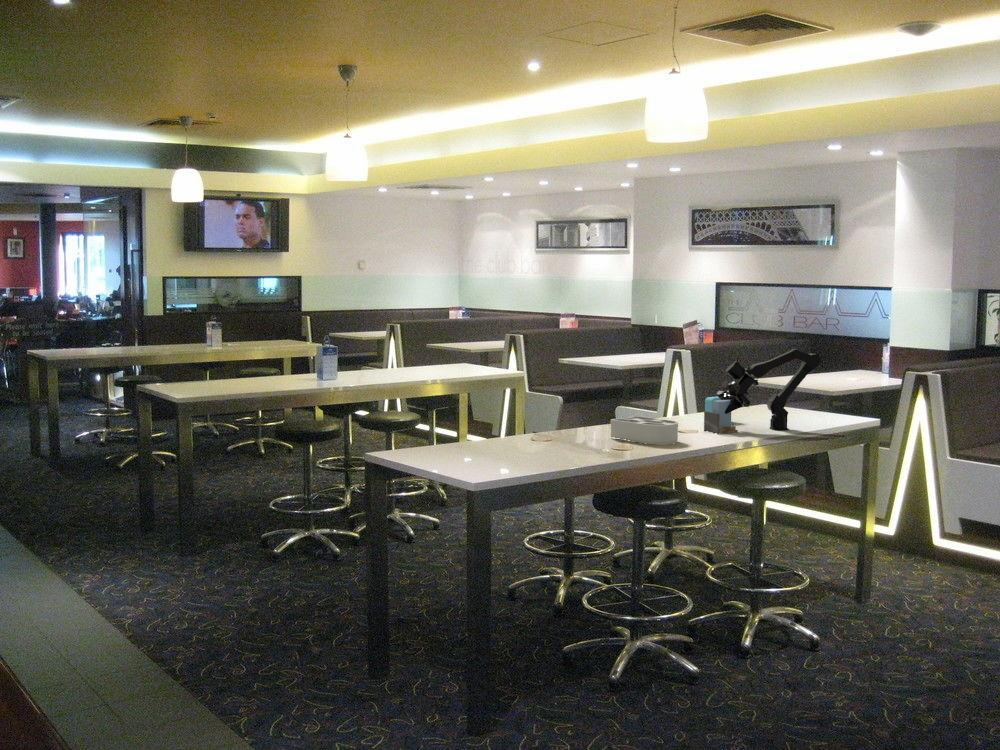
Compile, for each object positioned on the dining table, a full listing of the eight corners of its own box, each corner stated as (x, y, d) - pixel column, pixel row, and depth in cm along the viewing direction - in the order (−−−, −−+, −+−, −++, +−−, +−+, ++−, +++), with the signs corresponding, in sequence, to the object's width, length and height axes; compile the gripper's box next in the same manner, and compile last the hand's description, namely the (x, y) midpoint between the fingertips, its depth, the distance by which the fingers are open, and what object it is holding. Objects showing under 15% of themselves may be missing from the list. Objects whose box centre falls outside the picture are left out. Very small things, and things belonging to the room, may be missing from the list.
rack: (724, 429, 460) (724, 409, 459) (737, 432, 451) (738, 412, 450) (703, 430, 455) (704, 411, 454) (717, 434, 446) (717, 413, 445)
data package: (711, 423, 477) (712, 398, 476) (704, 422, 481) (704, 397, 479) (729, 421, 484) (729, 396, 483) (722, 420, 487) (722, 395, 486)
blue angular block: (725, 426, 456) (725, 399, 455) (731, 427, 453) (731, 400, 451) (712, 427, 453) (712, 400, 452) (718, 428, 450) (718, 401, 449)
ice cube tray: (635, 435, 447) (635, 415, 446) (686, 442, 426) (686, 422, 425) (610, 439, 436) (610, 419, 435) (660, 447, 415) (660, 426, 414)
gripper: (720, 373, 461) (699, 398, 458) (745, 376, 444) (724, 403, 441) (734, 389, 465) (713, 414, 462) (759, 393, 448) (739, 419, 445)
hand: (722, 412), depth 452 cm, fingers closed on blue angular block, 4 cm apart
